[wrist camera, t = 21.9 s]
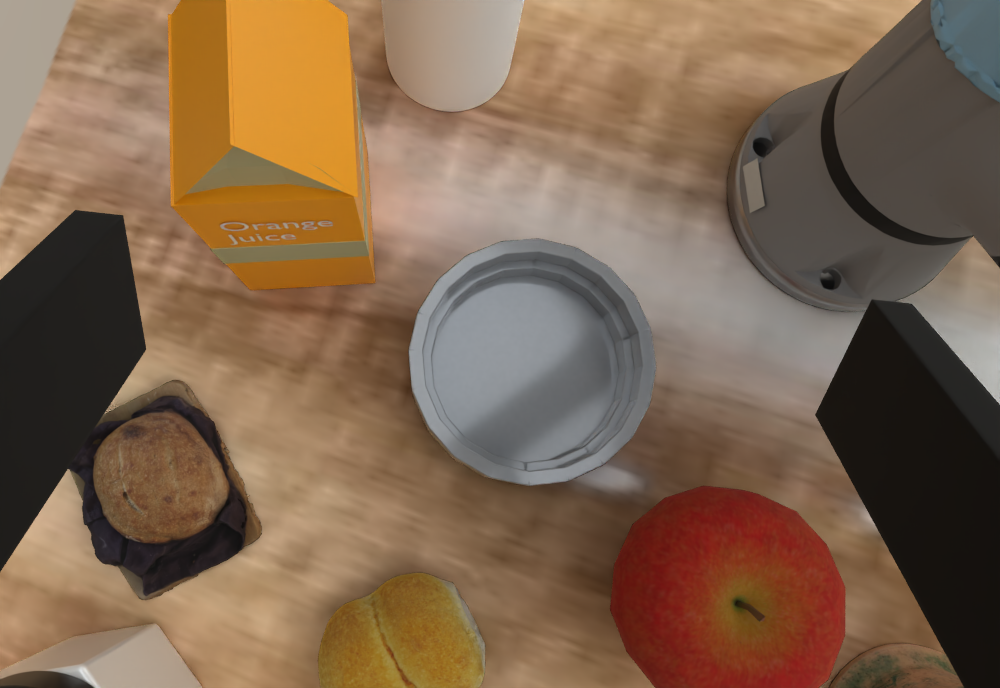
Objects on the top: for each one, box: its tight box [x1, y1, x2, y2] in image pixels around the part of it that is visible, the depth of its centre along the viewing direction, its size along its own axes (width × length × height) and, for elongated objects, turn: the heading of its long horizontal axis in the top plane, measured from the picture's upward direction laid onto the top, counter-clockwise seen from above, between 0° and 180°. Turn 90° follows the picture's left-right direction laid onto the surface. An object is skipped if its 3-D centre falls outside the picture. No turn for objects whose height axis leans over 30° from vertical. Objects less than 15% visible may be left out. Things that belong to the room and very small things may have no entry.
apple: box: [610, 486, 845, 688], centre depth 39 cm, size 11×11×12 cm
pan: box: [408, 239, 656, 486], centre depth 44 cm, size 14×14×4 cm
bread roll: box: [318, 573, 485, 688], centre depth 40 cm, size 8×9×4 cm
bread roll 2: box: [68, 380, 262, 600], centre depth 41 cm, size 11×8×4 cm
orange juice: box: [168, 0, 375, 290], centre depth 36 cm, size 8×9×20 cm
